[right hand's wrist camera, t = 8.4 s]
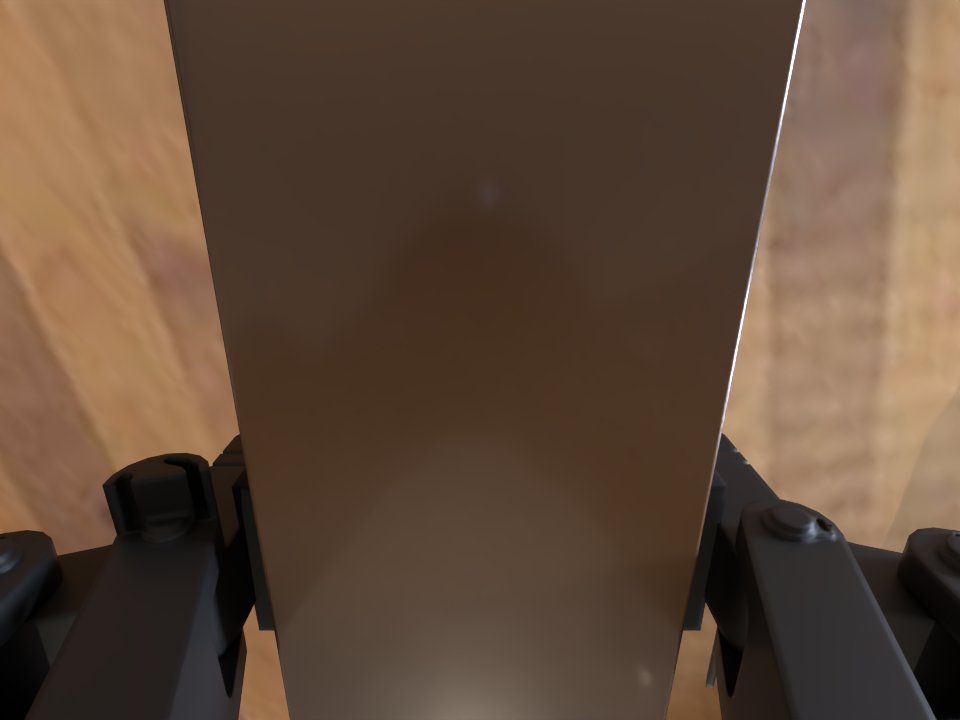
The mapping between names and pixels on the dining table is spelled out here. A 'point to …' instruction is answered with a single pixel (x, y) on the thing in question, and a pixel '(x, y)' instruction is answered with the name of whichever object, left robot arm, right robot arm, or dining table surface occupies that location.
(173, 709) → the right robot arm
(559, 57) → the board
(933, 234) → the dining table surface
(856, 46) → the dining table surface
